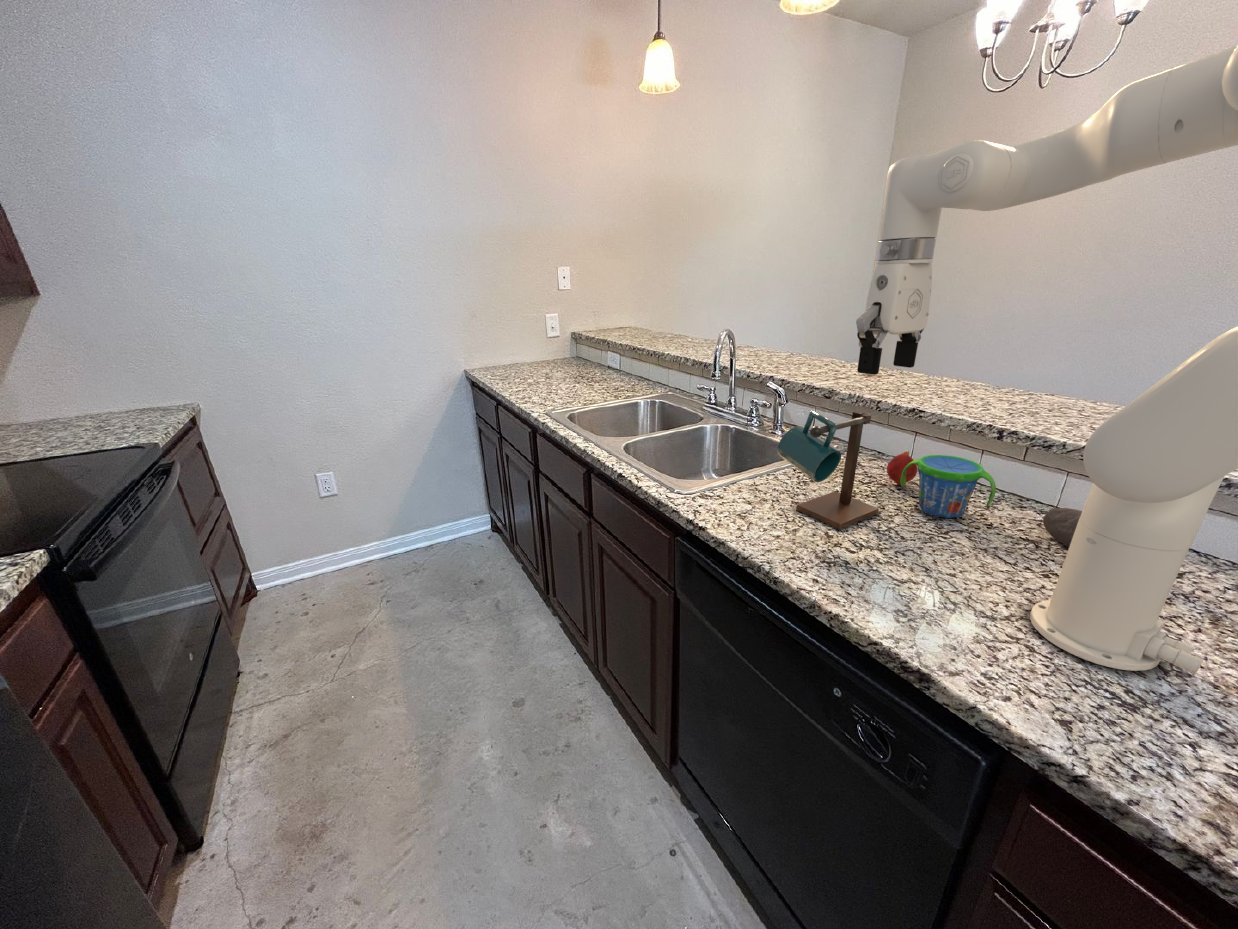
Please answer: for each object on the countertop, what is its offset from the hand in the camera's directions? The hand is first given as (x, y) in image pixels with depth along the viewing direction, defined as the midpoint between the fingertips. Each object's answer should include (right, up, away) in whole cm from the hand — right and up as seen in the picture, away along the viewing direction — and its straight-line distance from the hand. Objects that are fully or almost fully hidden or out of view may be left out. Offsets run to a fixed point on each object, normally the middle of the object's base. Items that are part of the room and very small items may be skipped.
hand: (885, 369), depth 79 cm
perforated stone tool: (+36, -30, +5) cm, 47 cm away
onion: (+20, -20, +32) cm, 43 cm away
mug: (-9, -9, +15) cm, 20 cm away
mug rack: (-2, -25, +19) cm, 31 cm away
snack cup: (+21, -25, +20) cm, 38 cm away
